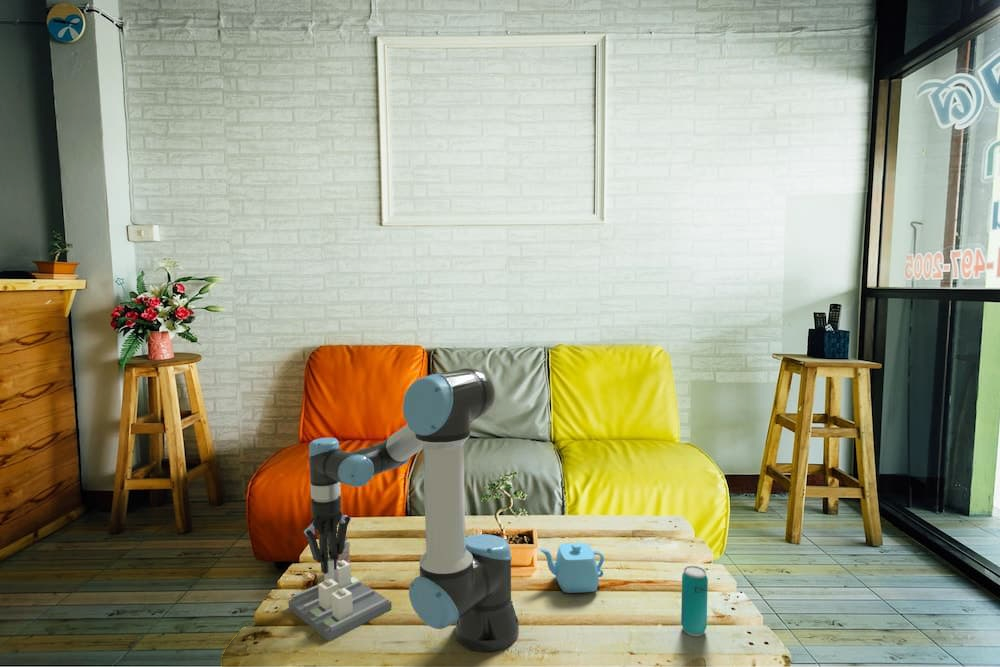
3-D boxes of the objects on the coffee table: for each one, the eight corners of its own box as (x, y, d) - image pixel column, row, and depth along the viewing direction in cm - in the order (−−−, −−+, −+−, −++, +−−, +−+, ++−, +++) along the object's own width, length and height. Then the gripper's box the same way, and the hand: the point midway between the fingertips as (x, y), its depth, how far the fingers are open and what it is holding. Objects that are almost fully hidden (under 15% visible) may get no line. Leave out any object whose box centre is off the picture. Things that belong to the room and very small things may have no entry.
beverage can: (711, 635, 134) (713, 575, 133) (690, 640, 133) (691, 579, 131) (696, 621, 140) (697, 563, 138) (676, 626, 138) (677, 567, 137)
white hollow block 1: (351, 583, 155) (350, 562, 154) (339, 589, 152) (338, 567, 151) (344, 579, 157) (343, 557, 156) (332, 584, 154) (331, 562, 154)
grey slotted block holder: (391, 609, 147) (391, 598, 146) (328, 641, 134) (327, 629, 133) (349, 581, 160) (349, 571, 160) (288, 608, 147) (288, 597, 147)
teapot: (536, 574, 163) (536, 536, 162) (598, 572, 164) (598, 534, 163) (542, 598, 151) (542, 557, 150) (609, 595, 152) (609, 554, 151)
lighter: (340, 580, 161) (339, 546, 160) (329, 579, 162) (328, 545, 161) (353, 566, 169) (352, 534, 168) (342, 565, 170) (341, 533, 169)
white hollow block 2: (352, 614, 140) (352, 590, 140) (339, 621, 138) (338, 596, 137) (345, 609, 143) (344, 585, 142) (332, 615, 140) (331, 591, 140)
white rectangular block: (339, 604, 145) (338, 581, 144) (326, 610, 142) (325, 586, 142) (331, 599, 147) (330, 576, 147) (319, 605, 145) (318, 581, 144)
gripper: (340, 487, 157) (343, 568, 159) (295, 500, 147) (299, 587, 149) (355, 493, 152) (358, 578, 154) (310, 508, 142) (314, 598, 144)
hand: (329, 582), depth 152 cm, fingers closed
